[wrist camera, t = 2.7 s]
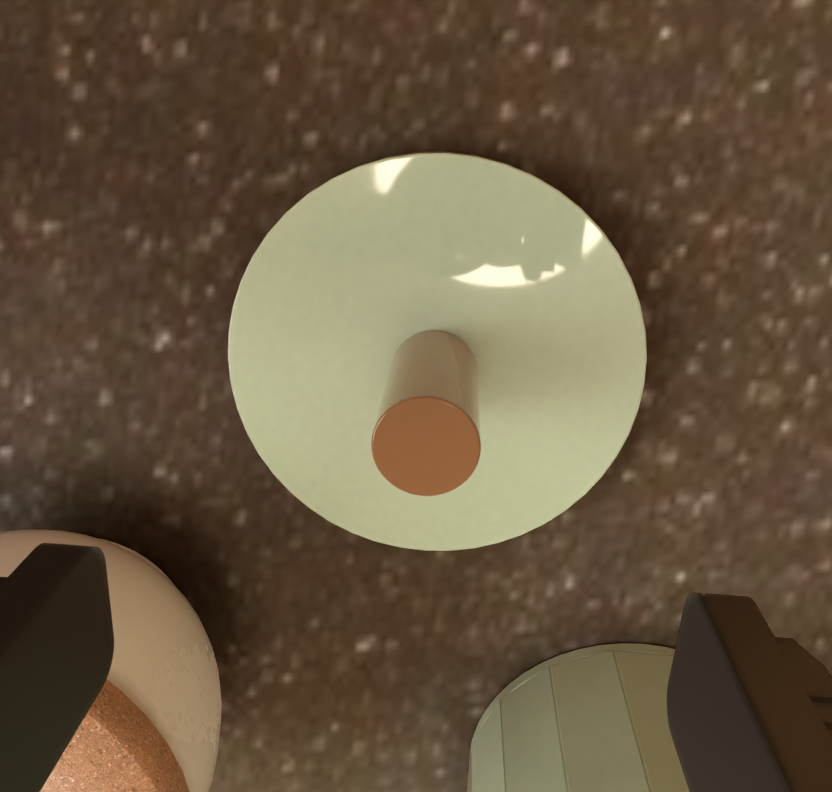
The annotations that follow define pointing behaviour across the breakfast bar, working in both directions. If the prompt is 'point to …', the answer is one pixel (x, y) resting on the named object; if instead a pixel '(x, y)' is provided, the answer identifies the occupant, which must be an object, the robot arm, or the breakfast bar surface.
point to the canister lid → (437, 351)
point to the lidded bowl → (139, 683)
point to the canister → (581, 726)
